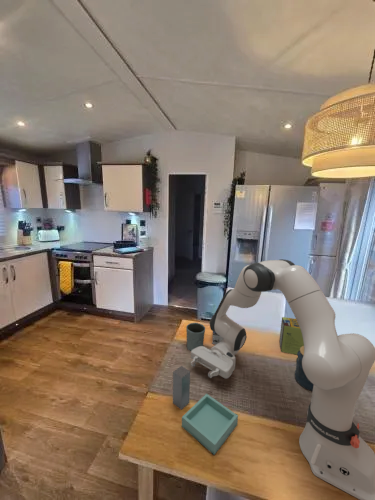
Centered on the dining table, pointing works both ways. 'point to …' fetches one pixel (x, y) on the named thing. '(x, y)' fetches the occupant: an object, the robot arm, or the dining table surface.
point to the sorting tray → (210, 423)
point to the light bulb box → (216, 338)
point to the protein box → (290, 336)
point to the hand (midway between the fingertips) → (200, 370)
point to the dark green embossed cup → (195, 335)
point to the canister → (302, 372)
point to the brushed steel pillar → (181, 387)
